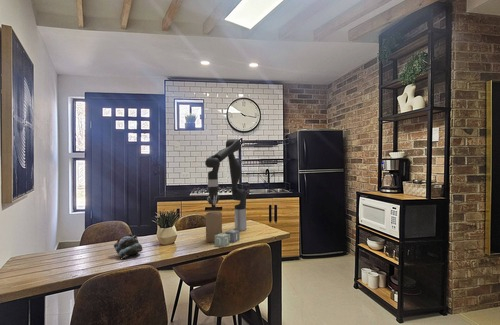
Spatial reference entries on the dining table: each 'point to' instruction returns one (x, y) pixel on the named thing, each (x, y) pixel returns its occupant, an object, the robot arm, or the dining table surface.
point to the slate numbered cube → (233, 235)
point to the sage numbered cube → (221, 240)
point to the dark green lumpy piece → (127, 246)
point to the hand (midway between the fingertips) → (213, 209)
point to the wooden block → (213, 225)
